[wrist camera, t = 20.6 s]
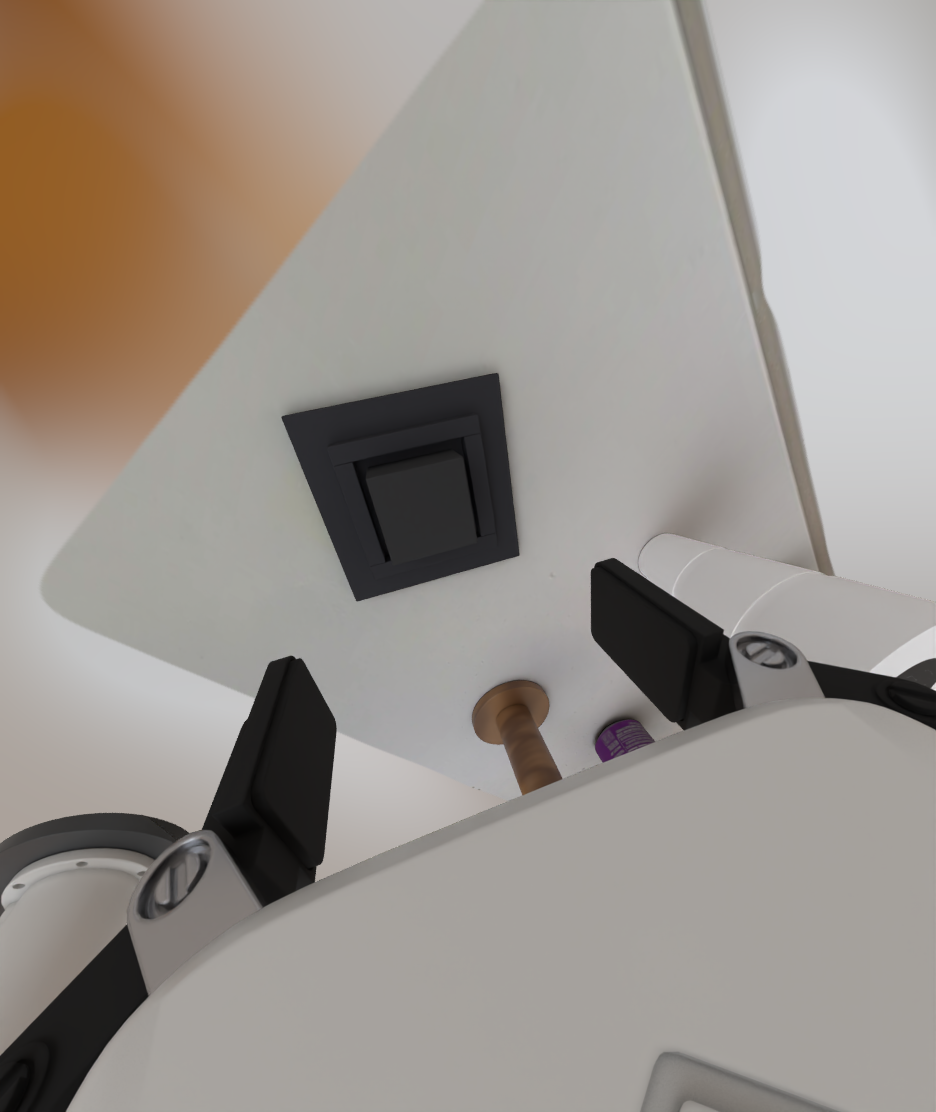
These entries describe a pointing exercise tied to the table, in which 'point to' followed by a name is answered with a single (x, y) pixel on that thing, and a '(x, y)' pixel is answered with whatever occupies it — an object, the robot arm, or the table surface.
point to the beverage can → (621, 739)
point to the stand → (518, 731)
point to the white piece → (799, 607)
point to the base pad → (395, 434)
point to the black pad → (423, 505)
